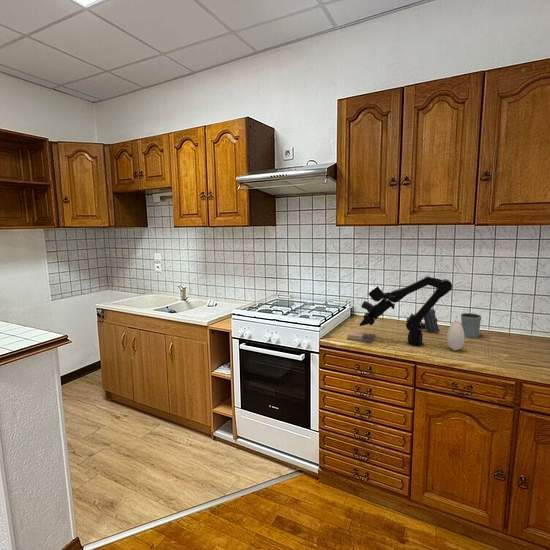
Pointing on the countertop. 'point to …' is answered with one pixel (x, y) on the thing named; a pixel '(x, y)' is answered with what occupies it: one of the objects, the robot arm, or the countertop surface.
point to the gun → (430, 322)
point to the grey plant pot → (470, 324)
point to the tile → (356, 334)
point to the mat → (366, 338)
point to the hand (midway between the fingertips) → (359, 325)
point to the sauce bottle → (455, 335)
